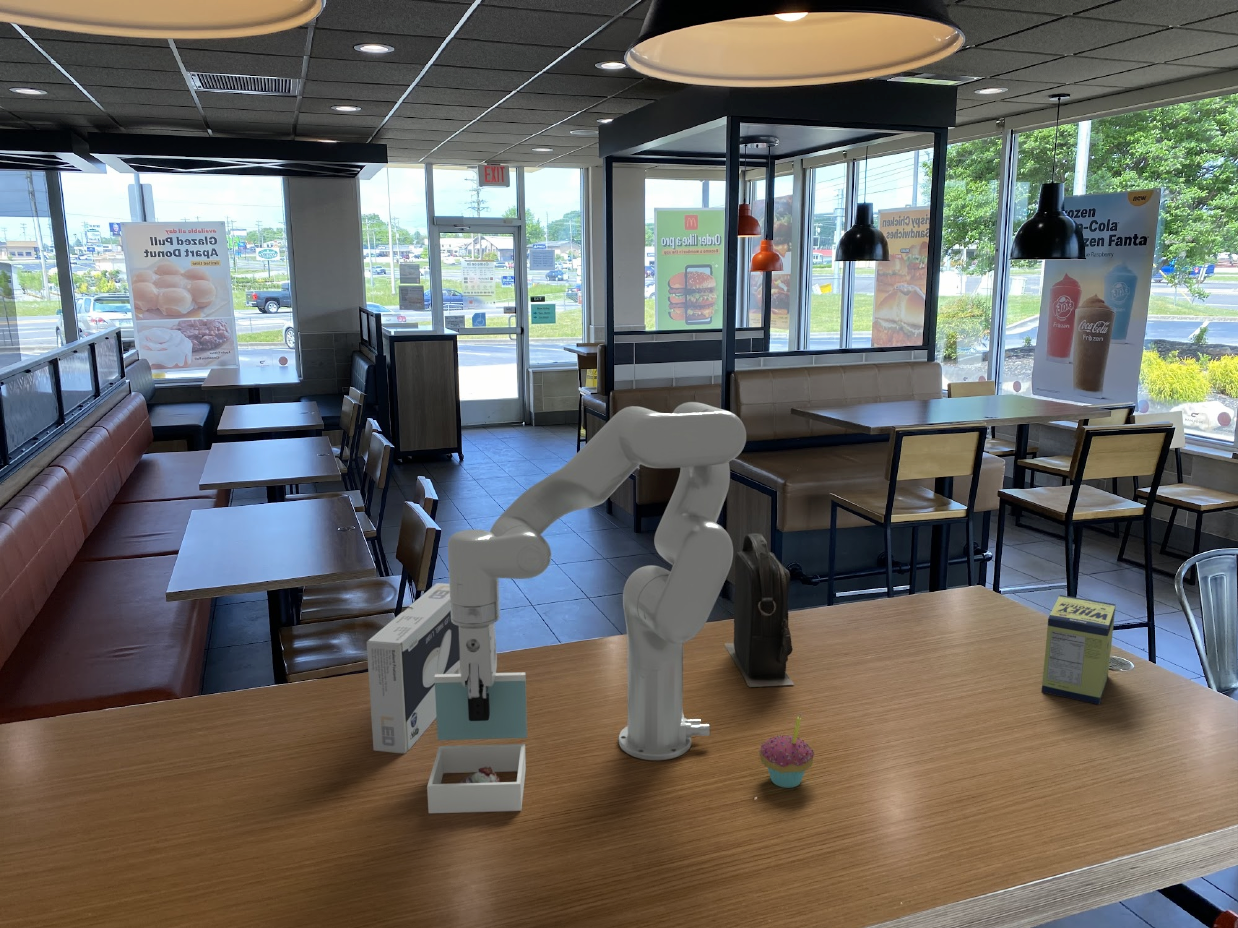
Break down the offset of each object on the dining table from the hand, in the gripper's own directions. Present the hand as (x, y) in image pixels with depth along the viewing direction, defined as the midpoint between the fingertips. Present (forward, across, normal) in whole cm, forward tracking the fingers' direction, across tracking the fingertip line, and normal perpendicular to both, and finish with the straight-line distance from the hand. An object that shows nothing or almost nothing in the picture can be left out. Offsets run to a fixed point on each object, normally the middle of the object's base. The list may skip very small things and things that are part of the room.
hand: (479, 718), depth 146 cm
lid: (0, +3, 0) cm, 3 cm away
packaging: (+11, +24, +13) cm, 30 cm away
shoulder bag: (+11, +42, -54) cm, 69 cm away
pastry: (+11, -5, 0) cm, 12 cm away
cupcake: (+11, -3, -49) cm, 50 cm away
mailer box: (+11, -3, 0) cm, 11 cm away
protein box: (+11, +28, -114) cm, 118 cm away
